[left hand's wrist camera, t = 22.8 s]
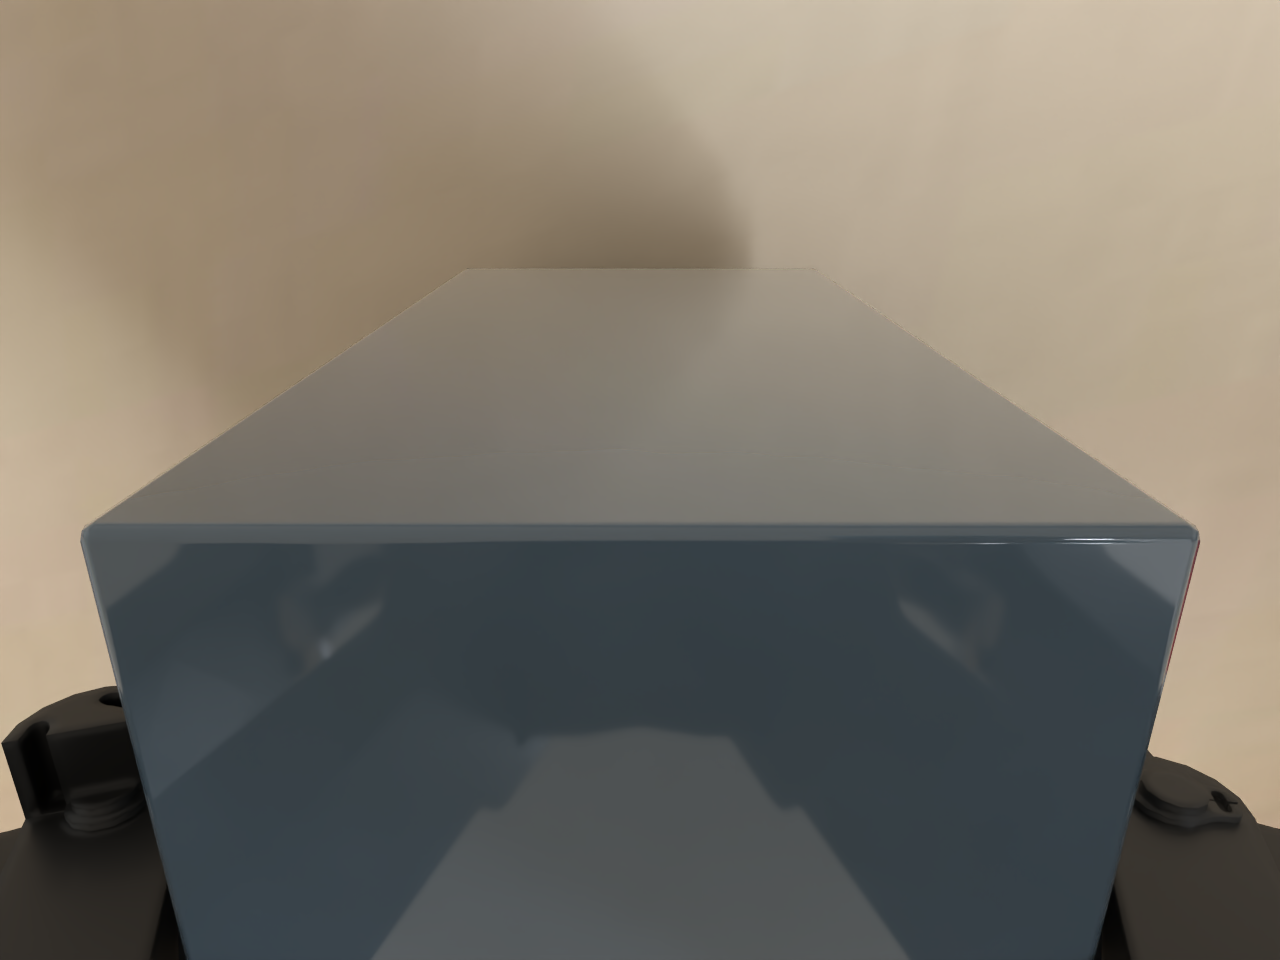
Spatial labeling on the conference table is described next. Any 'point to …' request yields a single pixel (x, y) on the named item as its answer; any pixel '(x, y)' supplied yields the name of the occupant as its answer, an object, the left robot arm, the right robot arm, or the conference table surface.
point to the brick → (640, 640)
